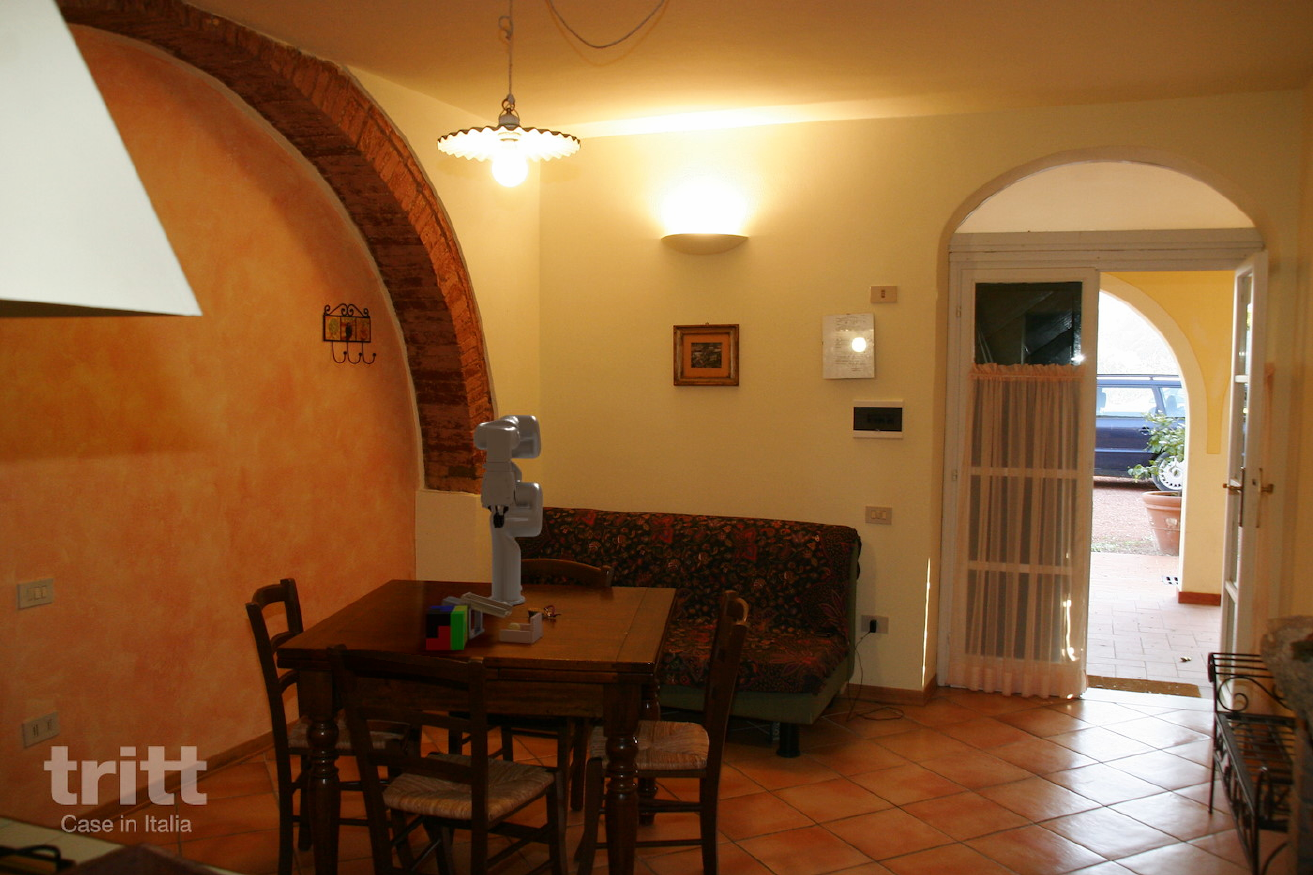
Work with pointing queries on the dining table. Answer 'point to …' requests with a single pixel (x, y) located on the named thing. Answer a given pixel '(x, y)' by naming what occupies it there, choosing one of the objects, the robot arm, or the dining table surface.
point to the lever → (481, 604)
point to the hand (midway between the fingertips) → (498, 527)
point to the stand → (477, 622)
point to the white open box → (524, 631)
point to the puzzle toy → (446, 628)
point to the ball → (514, 626)
